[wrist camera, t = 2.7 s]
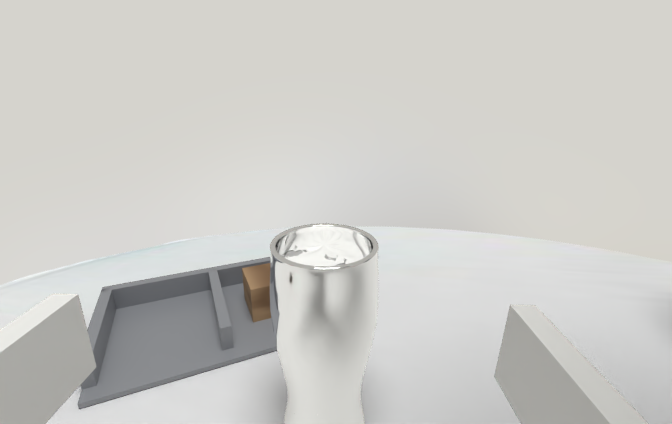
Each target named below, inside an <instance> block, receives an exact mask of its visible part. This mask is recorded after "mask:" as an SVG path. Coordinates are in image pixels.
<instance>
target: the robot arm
mask: <svg viewBox="0 0 672 424" xmlns="http://www.w3.org/2000/svg"><path fill="white" fill-rule="evenodd" d="M95 368H96V363H95V359H94V355H93V351H92V347H91V343H90V339H89V335H88V331H87V327H86V323H85V319H84V315H83V311H82V307H81V303H80V299H79V295H78V294H51V295H50V296H48V297H47V298H46V299H44V300H43V301H41V302H40V303H38V304H37V305H35V306H34V307H32V308H31V309H29V310H28V311H26V312H25V313H24V314H22V315H21V316H19V317H18V318H16V319H15V320H13V321H12V322H10V323H9V324H7V325H6V326H5V327H3V328H2V329H0V424H46V423H47V421H48V420H49V419H50V418H51V417H52V416H53V415H54V414H55V413H56V411H57V410H58V409H59V408H60V407H61V406H62V405H63V404H64V403H65V401H66V400H67V399H68V398H69V397H70V396H71V395H72V394H73V393H74V391H75V390H76V389H77V388H78V387H79V386H80V385H81V384H82V383H83V381H84V380H85V379H86V378H87V377H88V376H89V375H90V374H91V373H92V371H93V370H94V369H95ZM494 377H495V378H496V380H497V382H498V384H499V386H500V387H501V389H502V391H503V393H504V394H505V396H506V398H507V400H508V401H509V403H510V405H511V407H512V409H513V410H514V412H515V414H516V416H517V417H518V419H519V421H520V423H521V424H649V423H648V422H647V421H646V420H645V419H644V418H643V417H642V416H641V415H640V414H639V413H638V412H637V411H636V410H635V409H634V408H633V407H632V406H631V405H630V404H629V403H628V401H627V400H626V399H625V398H624V397H623V396H622V395H621V394H620V393H619V392H618V391H617V390H616V389H615V388H614V387H613V386H612V385H611V384H610V383H609V382H608V381H607V380H606V379H605V378H604V376H603V375H602V374H601V373H600V372H599V371H598V370H597V369H596V368H595V367H594V366H593V365H592V364H591V363H590V362H589V361H588V360H587V359H586V358H585V357H584V356H583V355H582V354H581V352H580V351H579V350H578V349H577V348H576V347H575V346H574V345H573V344H572V343H571V342H570V341H569V340H568V339H567V338H566V337H565V336H564V335H563V334H562V333H561V332H560V331H559V330H558V328H557V327H556V326H555V325H554V324H553V323H552V322H551V321H550V320H549V319H548V318H547V317H546V316H545V315H544V314H543V313H542V312H541V311H540V310H539V309H538V308H537V307H536V306H535V305H510V308H509V312H508V317H507V321H506V326H505V330H504V335H503V339H502V344H501V348H500V353H499V357H498V362H497V366H496V371H495V375H494Z"/></svg>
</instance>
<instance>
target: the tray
mask: <svg viewBox="0 0 672 424" xmlns="http://www.w3.org/2000/svg"><path fill="white" fill-rule="evenodd" d="M267 263H270V257H267V258H261V259H256V260H250V261H245V262H239V263H234V264H228V265H223V266H217V267H212V268H206V269H201V270H195V271H190V272H184V273H178V274H173V275H167V276H162V277H156V278H151V279H145V280H140V281H134V282H129V283H123V284H118V285H112V286H107V287H103V288H102V290H101V293H100V296H99V299H98V302H97V304H96V307H95V310H94V313H93V315H92V318H91V321H90V324H89V327H88V329H87V331H88V335H89V339H90V343H91V347H92V351H93V355H94V359H95V363H96V368H95V369H94V370H93V371H92V373H91V374H90V375H89V376H88V377H87V378H86V379H85V380H84V381H83V383H82V384H81V388H82V391H81V395H80V398H79V401H78V407H79V409H81V408H84V407H88V406H91V405H95V404H98V403H101V402H105V401H108V400H111V399H115V398H118V397H122V396H125V395H128V394H132V393H135V392H138V391H142V390H145V389H149V388H152V387H155V386H159V385H162V384H165V383H169V382H172V381H176V380H179V379H182V378H186V377H189V376H192V375H196V374H199V373H202V372H206V371H209V370H213V369H216V368H219V367H223V366H226V365H229V364H233V363H236V362H240V361H243V360H246V359H250V358H253V357H256V356H260V355H263V354H267V353H270V352H273V351H277V348H276V344H275V340H274V335H273V330H272V324H271V318H269V319H265V320H261V321H257V322H253V320H252V317H251V315H250V312H249V309H248V306H247V303H246V301H245V297H244V286H243V274H242V268H246V267H251V266H256V265H261V264H267Z"/></svg>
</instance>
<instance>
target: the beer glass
mask: <svg viewBox="0 0 672 424" xmlns="http://www.w3.org/2000/svg"><path fill="white" fill-rule="evenodd" d="M270 251H271V257H270V286H269V292H270V313H271V324H272V330H273V335H274V340H275V344H276V348H277V352H278V356H279V359H280V363H281V366H282V370H283V373H284V377H285V381H286V385H287V404H286V409H285V415H284V422H283V424H365V421H364V413H363V408H362V403H361V386H362V381H363V377H364V373H365V369H366V366H367V362H368V359H369V355H370V351H371V348H372V344H373V339H374V334H375V330H376V324H377V314H378V300H379V272H378V243H377V241H376V239H375V238H374V237H373V236H372V235H370V234H369V233H367V232H365V231H363V230H360V229H358V228H354V227H351V226H345V225H339V224H310V225H303V226H299V227H294V228H291V229H288V230H286V231H284V232H282V233H280V234H278V235H277V236H276V237H275V238H274V239H273V240H272V242H271V244H270Z"/></svg>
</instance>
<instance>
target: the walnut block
mask: <svg viewBox="0 0 672 424" xmlns="http://www.w3.org/2000/svg"><path fill="white" fill-rule="evenodd" d="M242 274H243V286H244V297H245V301H246V303H247V306H248V309H249V312H250V315H251V317H252V320H253V322H257V321H261V320H265V319H269V318H271V313H270V292H269V286H270V263H267V264H261V265H256V266H251V267H246V268H242Z"/></svg>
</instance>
